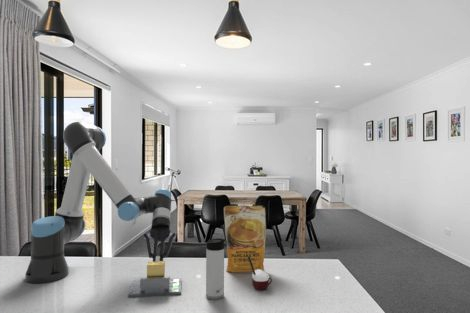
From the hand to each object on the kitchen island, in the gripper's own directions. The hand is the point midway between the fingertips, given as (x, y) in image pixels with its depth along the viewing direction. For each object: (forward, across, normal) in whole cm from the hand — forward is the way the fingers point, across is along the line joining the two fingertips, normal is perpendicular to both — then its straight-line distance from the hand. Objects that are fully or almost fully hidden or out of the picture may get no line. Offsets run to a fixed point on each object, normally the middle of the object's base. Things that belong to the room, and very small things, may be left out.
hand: (156, 273), depth 119 cm
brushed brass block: (+5, -2, 0) cm, 6 cm away
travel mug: (+11, -21, +4) cm, 24 cm away
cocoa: (+8, -38, 0) cm, 39 cm away
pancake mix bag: (-6, -36, -14) cm, 39 cm away
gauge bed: (+4, 0, -3) cm, 5 cm away
